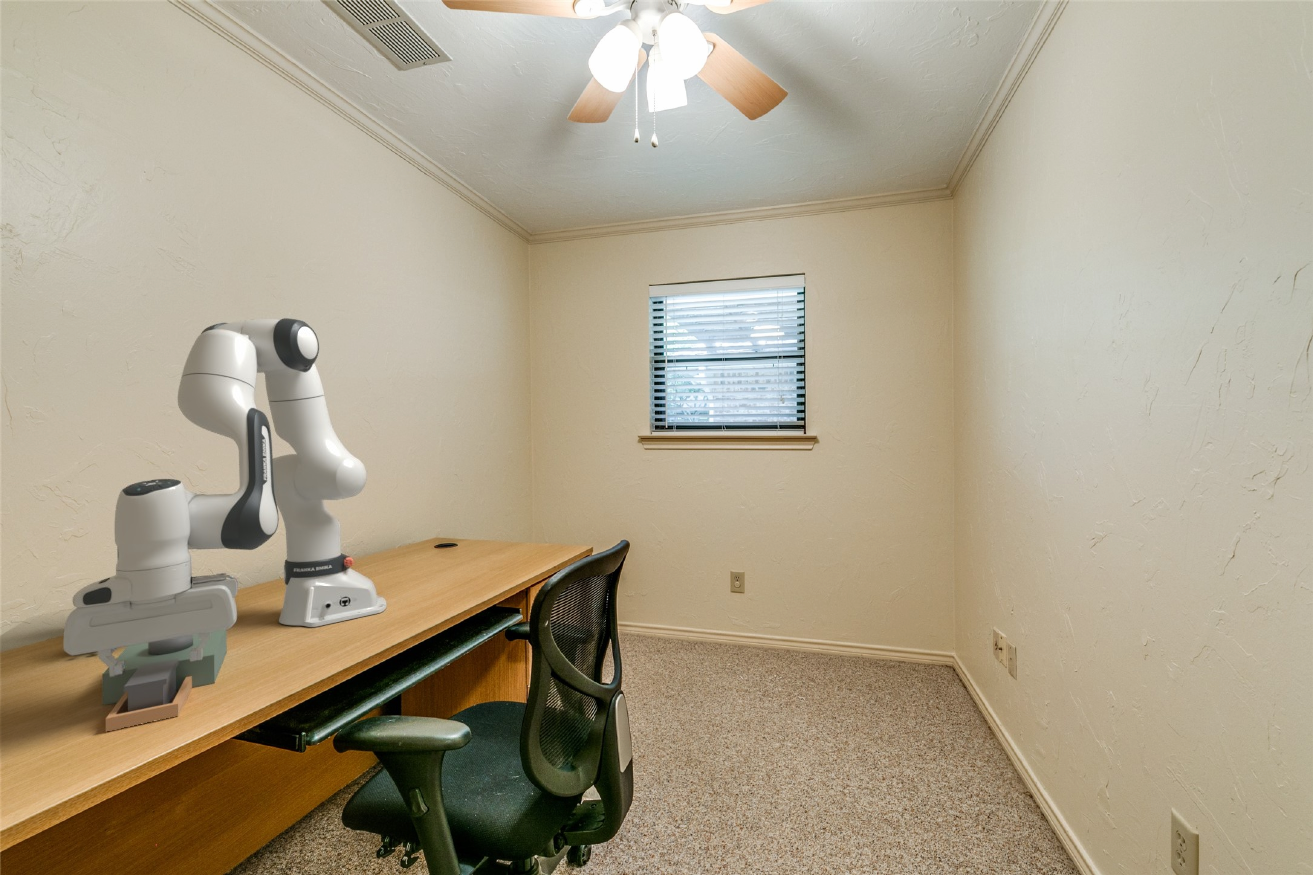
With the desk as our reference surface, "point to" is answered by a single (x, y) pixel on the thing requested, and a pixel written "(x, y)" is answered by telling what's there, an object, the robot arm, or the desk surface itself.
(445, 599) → the desk surface
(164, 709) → the green panel with knob
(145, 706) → the grey stepped block
